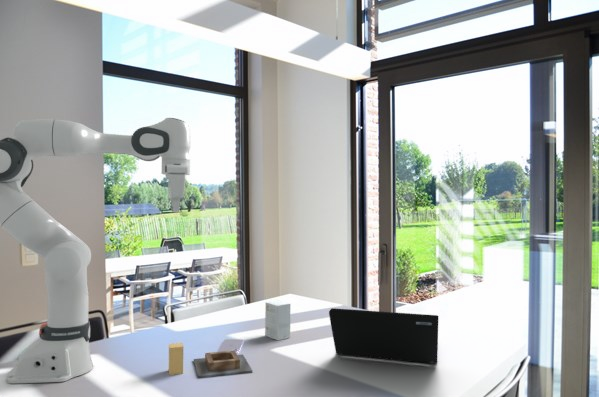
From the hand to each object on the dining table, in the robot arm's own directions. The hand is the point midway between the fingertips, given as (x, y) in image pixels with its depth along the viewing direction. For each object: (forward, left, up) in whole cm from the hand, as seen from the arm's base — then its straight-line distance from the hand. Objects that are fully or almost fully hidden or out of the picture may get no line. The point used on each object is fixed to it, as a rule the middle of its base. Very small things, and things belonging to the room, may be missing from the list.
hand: (175, 212), depth 148 cm
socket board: (+14, -10, -48) cm, 51 cm away
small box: (+39, +16, -48) cm, 64 cm away
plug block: (0, -10, -48) cm, 49 cm away
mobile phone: (+20, +9, -48) cm, 53 cm away
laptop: (+69, -14, -48) cm, 86 cm away
